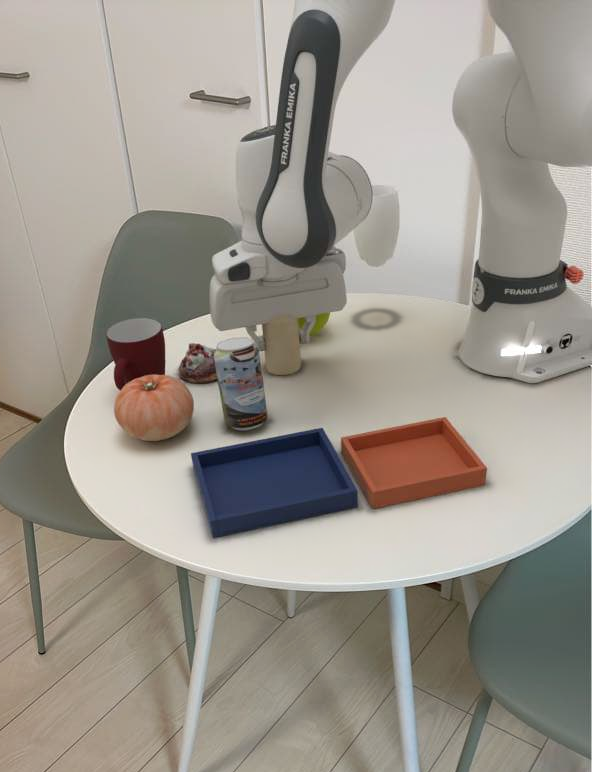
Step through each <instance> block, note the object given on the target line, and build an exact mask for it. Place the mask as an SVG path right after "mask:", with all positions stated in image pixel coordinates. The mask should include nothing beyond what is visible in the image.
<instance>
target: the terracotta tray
mask: <svg viewBox="0 0 592 772" xmlns="http://www.w3.org/2000/svg"><path fill="white" fill-rule="evenodd" d="M340 454H341V455H342V457H343V459H344V461H345V463H346V464H347V466H348V468H349V470H350V471H351V473H352V475H353V477H354V479H355V480H356V482H357V484H358V486H359V487H360V489H361V491H362V493H363V494H364V496H365V498H366V500H367V502H368V504H369V505H370V507H371V509H372V510H374V509H378V508H384V507H388V506H393V505H397V504H402V503H407V502H411V501H416V500H421V499H425V498H430V497H435V496H440V495H444V494H449V493H453V492H458V491H463V490H469V489H473V488H477V487H482V486H486V483H487V482H486V481H487V474H488V467H487V466H486V464H485V463H484V462H483V461H482V460H481V458H480V457H479V455H477V454H476V452H475V451H474V450H473V449H472V447H471V446H470V445H469V444H468V442H467V441H466V440H465V438H464V437H463V436H462V435H461V434H460V432H459V431H458V430H457V429H456V428H455V426H454V425H453V424H452V423H451V422H450V420H449V419H448V418H447V416H443V417H437V418H432V419H426V420H422V421H418V422H411V423H407V424H402V425H398V426H392V427H388V428H382V429H375V430H372V431H366V432H361V433H356V434H351V435H347V436H341V437H340Z"/></svg>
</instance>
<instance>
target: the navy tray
mask: <svg viewBox="0 0 592 772" xmlns="http://www.w3.org/2000/svg"><path fill="white" fill-rule="evenodd" d="M190 457H191V463H192V469H193V473H194V475H195V476H194V477H195V480H196V483H197V486H198V490H199V494H200V498H201V501H202V504H203V508H204V511H205V515H206V519H207V522H208V525H209V531H210V533H211V536H212V539H215V538H219V537H224V536H228V535H232V534H237V533H243V532H247V531H252V530H257V529H263V528H266V527H270V526H276V525H281V524H285V523H290V522H294V521H298V520H304V519H308V518H313V517H318V516H322V515H327V514H332V513H337V512H340V511H341V512H342V511H346V510H350V509H355V508H358V507H359V499H358V497H359V493H358V488H357V487H356V485H355V483H354V482H353V480H352V478H351V476H350V474H349V472H348V470H347V469H346V467H345V465H344V464H343V461H342V460H341V457H340V456H339V454H338V452H337V451H336V449H335V447H334V445H333V444H332V442H331V440H330V438H329V436H328V434H327V433H326V431H325V430H324V428H323V427H319V428H313V429H308V430H303V431H297V432H293V433H287V434H282V435H277V436H271V437H267V438H262V439H257V440H252V441H247V442H246V441H245V442H241V443H236V444H232V445H225V446H220V447H216V448H211V449H204V450H199V451H196V452H191V453H190Z"/></svg>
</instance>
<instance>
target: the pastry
mask: <svg viewBox="0 0 592 772" xmlns="http://www.w3.org/2000/svg"><path fill="white" fill-rule="evenodd" d="M216 349H217V348H212V347H208V346H206V345H204V344H200V343H193V342H191V343H189V344H188V348H187V350H186V351H185V356H184V357H183V359H181V362H180V364H179V366H178V368H177V372H178V374H179V376H180V378H181V379H183V380H185V381H186V382H187V381H188V382H190V383H194V384H206V383H212V382H214V381H218V379H217V373H216V367H215V361H214V354H215V351H216Z"/></svg>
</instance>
